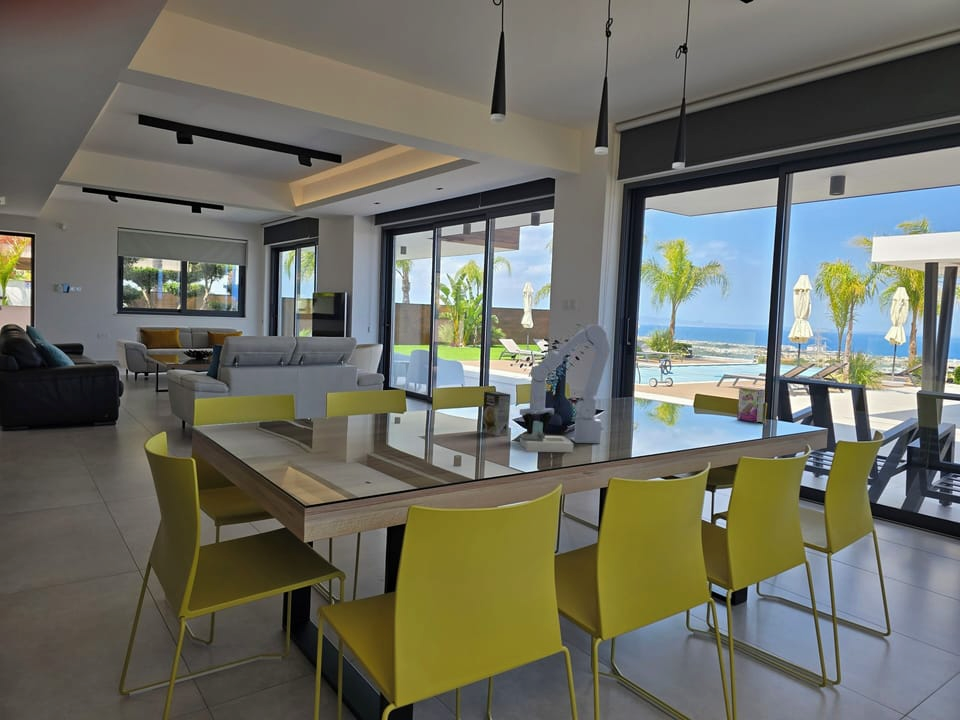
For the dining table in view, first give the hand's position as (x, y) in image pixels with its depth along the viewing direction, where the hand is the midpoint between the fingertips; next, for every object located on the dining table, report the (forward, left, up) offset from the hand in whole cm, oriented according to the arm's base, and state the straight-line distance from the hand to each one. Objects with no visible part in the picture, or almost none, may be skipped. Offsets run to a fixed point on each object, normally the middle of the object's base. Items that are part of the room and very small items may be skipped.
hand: (536, 433), depth 236 cm
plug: (0, 0, -2) cm, 2 cm away
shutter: (+5, +15, +1) cm, 16 cm away
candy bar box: (-120, -60, -3) cm, 134 cm away
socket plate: (0, +15, -2) cm, 15 cm away
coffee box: (+14, -10, -2) cm, 17 cm away
